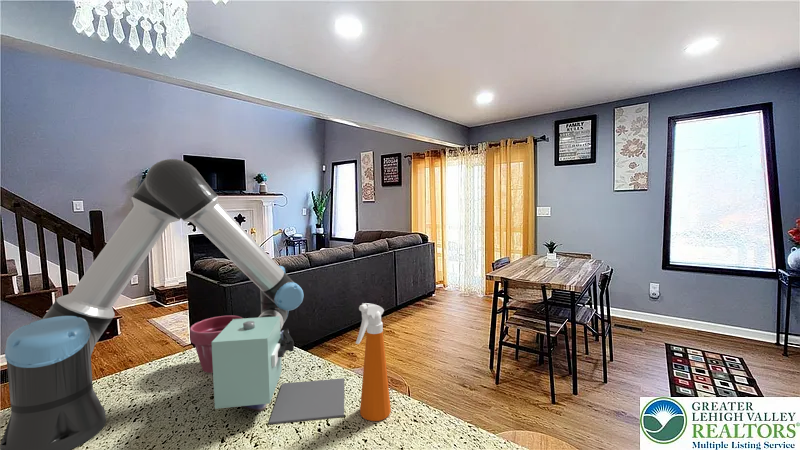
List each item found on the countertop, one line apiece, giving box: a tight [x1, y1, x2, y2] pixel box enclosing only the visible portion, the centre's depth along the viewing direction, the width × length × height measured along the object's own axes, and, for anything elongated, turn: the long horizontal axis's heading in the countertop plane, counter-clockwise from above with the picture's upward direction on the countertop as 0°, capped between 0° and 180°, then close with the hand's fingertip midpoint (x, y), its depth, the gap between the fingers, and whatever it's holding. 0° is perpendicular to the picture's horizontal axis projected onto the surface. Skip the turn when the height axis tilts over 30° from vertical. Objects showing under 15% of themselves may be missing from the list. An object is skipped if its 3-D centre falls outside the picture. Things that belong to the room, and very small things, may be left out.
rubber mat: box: [268, 378, 345, 425], centre depth 83 cm, size 16×16×1 cm
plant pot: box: [189, 315, 244, 374], centre depth 99 cm, size 14×14×13 cm
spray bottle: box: [355, 302, 392, 422], centre depth 75 cm, size 7×11×26 cm, turn 154°
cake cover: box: [212, 316, 283, 410], centre depth 80 cm, size 11×14×16 cm
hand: (245, 363), depth 76 cm, fingers closed on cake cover, 11 cm apart
